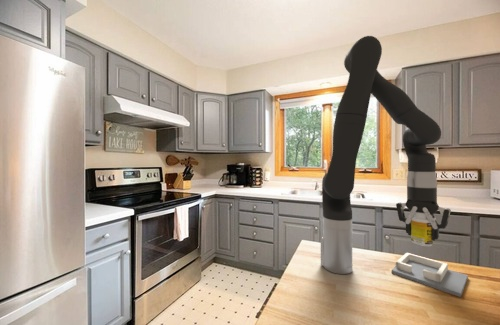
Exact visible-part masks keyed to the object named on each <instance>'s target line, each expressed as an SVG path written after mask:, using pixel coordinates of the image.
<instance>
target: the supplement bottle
mask: <svg viewBox="0 0 500 325" xmlns="http://www.w3.org/2000/svg"><path fill="white" fill-rule="evenodd" d="M432 228H433V227H432V225H431V223H430V222H429V220H428V218H427V216H426V215H425V213H419V212H416V213H415V215H414V217H413V218H412V219H411V236H410V239H411V242H412V243H413V244H415V245H418V246H423V247H432V246H433V245H434V241H433V240H432Z"/></svg>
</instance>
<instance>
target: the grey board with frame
mask: <svg viewBox="0 0 500 325" xmlns="http://www.w3.org/2000/svg"><path fill="white" fill-rule="evenodd" d="M448 266H449V264H448V263H446V262H443V261H439V260H435V259H431V258H428V257H424V256H420V255H416V254H413V253H410V252H405V253H404V254H403V255H402V256H401V257H400V258H398V259H397V260H396V262H395V266H394V267H393V268H392V269H391V274H393V275H396V276H400V277H402V278H405V279H408V280H411V281H413V282H417V283H419V284H422V285H425V286H427V287H430V288H434V289H437V290H439V291H442V292H445V293H447V294H450V295H453V296H456V297H459V298H461V297H462V296H463V295H462V294H464V289H465V287H466V285H467V281H468V279H469V278H468V277H469V275H468V274H464V273H461V272H458V271H454V270H451V269H449V267H448Z"/></svg>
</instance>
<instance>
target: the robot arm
mask: <svg viewBox="0 0 500 325" xmlns="http://www.w3.org/2000/svg"><path fill="white" fill-rule="evenodd" d="M382 50H383V48H382V44H381V42H380V40H379V39H378V38H377V37H375V36H373V35H366V36H362V37H361V38H360V39H358V40H357V41H355V43H354V44H352V46H351V48H350V49H349V50H348V52H347V53H346V54H345V57H344V60H343V65H344V68H345V70H346V71H347V72H348V73H349V74H348V75H349V76H348V80H347V83H346V86H345V89H344V92H343V94H342V97H341V99H340V101H339V104H338V107H337V109H336V113H335V118H334V124H333V129H332V130H333V132H332V153H331V154H332V155H331V159H330V163H329V166H328V170H327V172H326V173H325V174H324V175H323V178H322V180H321V182H322V183H321V195H322V196H321V202H322V203H321V204H322V205H321V206H322V237H320V265H321V266H322V267H323V268H324V269H325V270H327V271H329V272H331V273H334V274H337V275H347V274H351V273H352V272H353V264H354V263H353V210H352V204H351V194H352V193H353V190H354V187H355V178H356V165H357V158H358V153H359V151H360V147H361V144H362V139H363V136H364V132H365V128H366V122H367V117H368V112H369V106H370V100H371V94H372V96H373V97H374V98H375V99H376V100H377V101H378V102H379V103H380V105H381V106H382V107H383V108H384V110H385V111H386V113H387V114H388V115H389V116H390V118H391V119H392V120H393V121H394V122H395V124H398V125H402V126H405V127H406V128H405V130H404V132H403V135H402V142H403V147H404V151H405V155H406V157H407V177H406V202H397V203H396V204H395V206H396V210H397V216H398V220H399V221H400V222H403V223H405V233H407V236H410V237H411V219H412V218H413V217H414V215H415V213H416V212H419V213H425V215H426V216H427V218H428V220H429V222H430V223H431V225H432V227H433V228H432V240H433V242H436V241H437V240H438V239H439V238H440V229H446V227H448V223H449V220H450V214H451V212H452V211H451V208H445V207H441V206H439V204H438V190H437V189H438V181H437V172H436V171H437V168H436V166H437V165H436V156H435V154H433V153H430V152H429V151H428V149H427V145H428V146H429V145H433V144H436V143H437V142H439V140H440V139H441V137H442V129H441V127H440V125H439V124H438V122H436V121H435V120H434V118H432V117H431V116H429V115H428V114H426V113H425V112H423V111H422V110H421V109H419V108H418V106H417V105H416V104H415V102H414V101H413V100H412V99H411V98H410V97H409V94H408V93H406V92H405V91H404V90H403V89H401V88H400V87H399V86H397V85H396V84H394V83H393V82H390V81H389V80H387V79H386V77H384V76H382V74H381V73H380V72H379V71H378V66H379V64H380V61H381V58H382V53H383V52H382ZM406 208H407V209H408V211H409V214H408V215H407V217H406V216H405V215H406V214H405V209H406ZM438 211H439V213H440V215H441V221H440V223H439V222H438V221H437V218H436V215H435V214H436V213H437V212H438Z"/></svg>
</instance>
